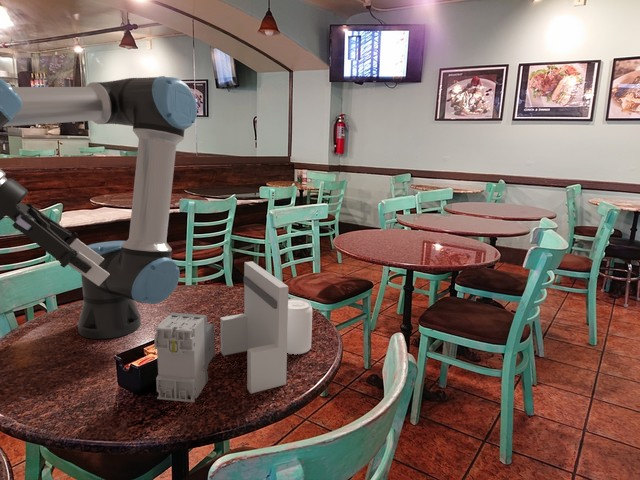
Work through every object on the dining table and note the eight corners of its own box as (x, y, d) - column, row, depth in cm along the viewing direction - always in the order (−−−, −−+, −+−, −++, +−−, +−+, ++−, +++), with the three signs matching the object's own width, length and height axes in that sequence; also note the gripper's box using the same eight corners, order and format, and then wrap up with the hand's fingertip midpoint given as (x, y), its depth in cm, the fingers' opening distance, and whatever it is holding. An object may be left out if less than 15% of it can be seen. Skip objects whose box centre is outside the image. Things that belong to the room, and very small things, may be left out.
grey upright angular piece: (220, 352, 109) (219, 264, 104) (251, 345, 113) (252, 261, 108) (250, 393, 92) (251, 291, 87) (286, 384, 96) (288, 286, 91)
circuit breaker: (217, 366, 102) (216, 304, 99) (193, 402, 89) (191, 331, 85) (185, 363, 103) (183, 302, 100) (157, 398, 89) (153, 328, 86)
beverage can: (274, 343, 115) (275, 299, 112) (304, 339, 118) (306, 296, 115) (283, 358, 107) (284, 311, 105) (315, 354, 110) (317, 307, 107)
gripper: (-18, 199, 84) (83, 270, 95) (-39, 221, 65) (91, 306, 76) (13, 170, 85) (109, 243, 97) (1, 183, 66) (123, 273, 77)
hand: (101, 271), depth 86 cm, fingers open, 10 cm apart
